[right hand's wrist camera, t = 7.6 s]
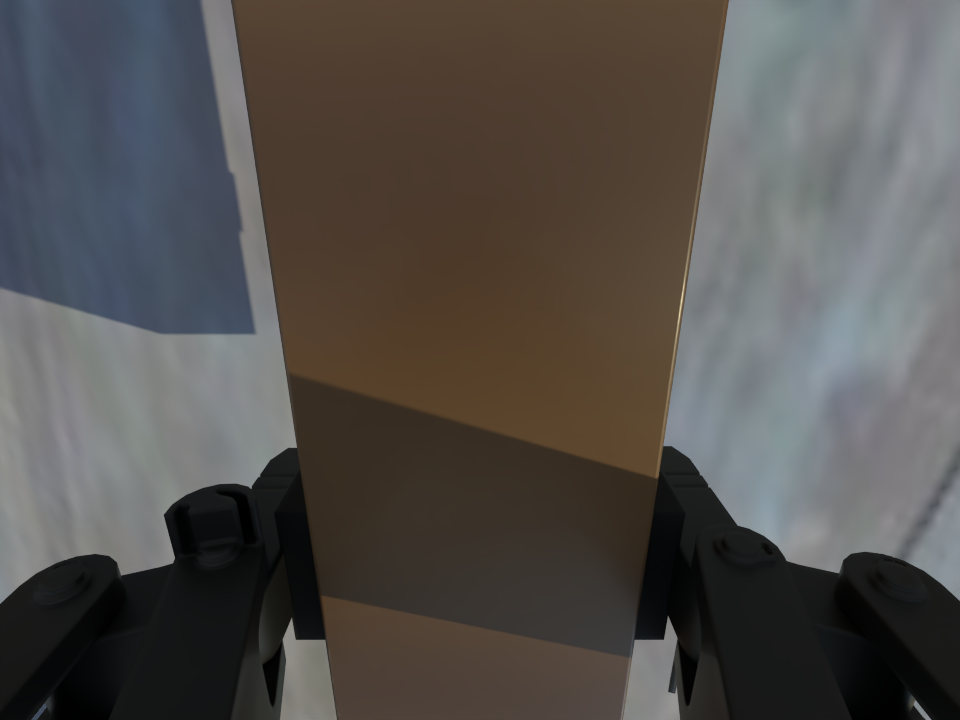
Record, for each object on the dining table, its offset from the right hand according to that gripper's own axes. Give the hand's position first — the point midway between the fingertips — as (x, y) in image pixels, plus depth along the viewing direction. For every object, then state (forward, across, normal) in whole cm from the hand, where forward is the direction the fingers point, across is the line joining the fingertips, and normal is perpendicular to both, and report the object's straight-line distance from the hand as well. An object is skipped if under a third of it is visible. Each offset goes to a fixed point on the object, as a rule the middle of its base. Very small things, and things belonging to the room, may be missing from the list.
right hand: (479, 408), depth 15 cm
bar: (0, 0, -23) cm, 23 cm away
